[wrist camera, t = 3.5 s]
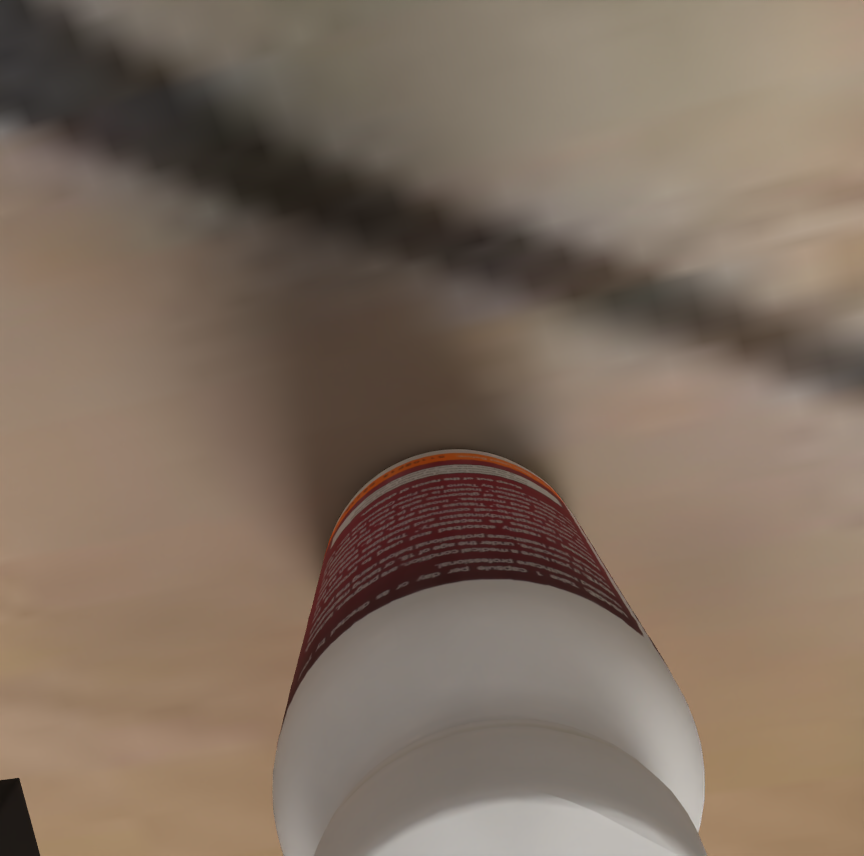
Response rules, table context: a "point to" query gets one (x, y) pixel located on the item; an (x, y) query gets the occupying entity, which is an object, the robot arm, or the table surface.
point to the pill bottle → (479, 684)
